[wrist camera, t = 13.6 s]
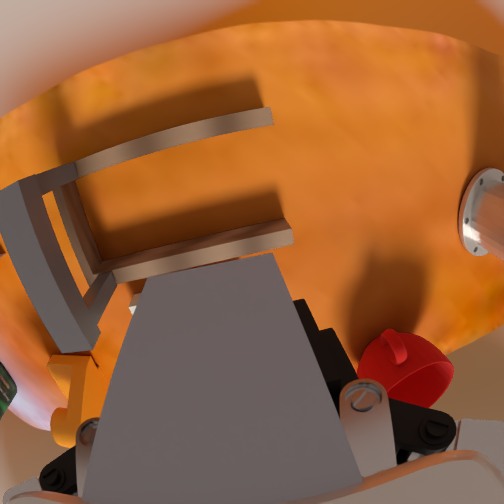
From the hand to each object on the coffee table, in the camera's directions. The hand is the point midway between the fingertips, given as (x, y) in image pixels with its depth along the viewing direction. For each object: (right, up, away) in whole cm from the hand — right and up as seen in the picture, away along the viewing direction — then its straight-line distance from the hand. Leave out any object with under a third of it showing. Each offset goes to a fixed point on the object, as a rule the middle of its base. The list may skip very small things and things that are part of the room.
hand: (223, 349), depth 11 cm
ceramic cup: (+19, -9, +27) cm, 34 cm away
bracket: (-23, -15, +24) cm, 36 cm away
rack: (-6, +9, +16) cm, 19 cm away
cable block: (0, +1, +2) cm, 2 cm away
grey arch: (-13, +6, +12) cm, 19 cm away
